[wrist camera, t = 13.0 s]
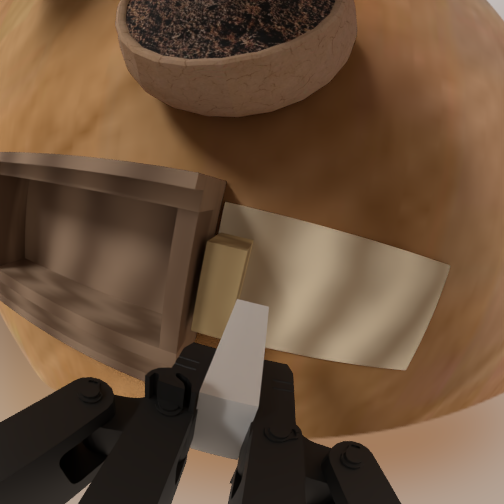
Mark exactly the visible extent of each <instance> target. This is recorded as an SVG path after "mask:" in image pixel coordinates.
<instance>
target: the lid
mask: <svg viewBox="0 0 504 504" xmlns="http://www.w3.org/2000/svg"><path fill="white" fill-rule="evenodd" d="M449 269H450V265H448V264H445V263H442V262H439V261H436V260H433V259H430V258H427V257H424V256H421V255H418V254H415V253H412V252H409V251H406V250H402V249H399V248H396V247H393V246H390V245H386V244H383V243H380V242H377V241H373V240H370V239H367V238H363V237H360V236H356V235H353V234H349V233H346V232H342V231H339V230H335V229H332V228H328V227H325V226H321V225H317V224H314V223H310V222H306V221H302V220H298V219H295V218H291V217H287V216H283V215H279V214H275V213H271V212H267V211H263V210H259V209H255V208H251V207H246V206H242V205H238V204H234V203H229V202H225V205H224V210H223V214H222V218H221V223H220V228H219V232H218V235H216V236H215V237H213V238H211V239H210V240H208V241H207V244H206V249H205V254H204V259H203V265H202V270H201V275H200V280H199V286H198V291H197V297H196V303H195V309H194V315H193V321H192V327H191V331H195V332H198V333H201V334H205V335H208V336H212V337H215V338H219V339H221V338H222V335H223V333H224V330H225V328H226V325H227V323H228V320H229V318H230V315H231V313H232V310H233V308H234V306H235V303H236V301H237V299H240V300H244V301H248V302H252V303H256V304H260V305H264V306H268V307H269V312H268V323H267V333H266V343H265V347H266V348H270V349H274V350H279V351H284V352H288V353H293V354H298V355H303V356H308V357H313V358H319V359H324V360H330V361H336V362H342V363H349V364H356V365H363V366H370V367H378V368H387V369H397V370H406V369H407V367H408V365H409V363H410V361H411V360H412V358H413V356H414V354H415V352H416V350H417V348H418V346H419V344H420V342H421V340H422V337H423V335H424V333H425V331H426V329H427V327H428V324H429V322H430V320H431V317H432V315H433V313H434V310H435V308H436V305H437V303H438V300H439V298H440V295H441V292H442V289H443V287H444V284H445V281H446V278H447V275H448V272H449Z"/></svg>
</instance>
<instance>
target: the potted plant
mask: <svg viewBox="0 0 504 504" xmlns="http://www.w3.org/2000/svg"><path fill="white" fill-rule="evenodd" d="M115 25H116V29H117V33H118V39H119V45H120V48H121V51H122V54H123V57H124V60H125V64H126V66H127V69H128V71H129V72H130V74H131V75H132V76H133V77H134V78H135V80H136V81H137V82H138V83H139V84H140V85H141V87H142V88H143V89H144V90H145V91H146V92H147V93H149V94H150V95H152V96H153V97H155V98H157V99H159V100H161V101H162V102H164V103H166V104H168V105H170V106H171V107H173V108H177V109H181V110H185V111H189V112H193V113H197V114H201V115H204V116H225V117H242V116H248V115H254V114H260V113H266V112H272V111H275V110H277V109H280V108H283V107H285V106H288V105H291V104H293V103H296V102H299V101H302V100H303V99H305V98H306V97H308V96H309V95H311V94H312V93H314V92H315V91H317V90H318V89H320V88H322V87H323V86H325V85H326V84H328V83H329V82H330V81H331V80H332V79H333V77H334V76H335V75H336V74H337V73H338V71H339V70H340V69H341V68H342V67H343V66H344V64H345V63H346V62H347V60H348V58H349V56H350V53H351V50H352V48H353V45H354V42H355V39H356V36H357V20H356V9H355V4H354V0H120V2H119V4H118V7H117V13H116V22H115Z"/></svg>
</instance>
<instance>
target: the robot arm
mask: <svg viewBox="0 0 504 504" xmlns="http://www.w3.org/2000/svg"><path fill="white" fill-rule="evenodd" d="M268 312H269V307H268V306H264V305H260V304H256V303H252V302H248V301H244V300H240V299H237V301H236V303H235V306H234V308H233V310H232V313H231V315H230V318H229V320H228V323H227V325H226V328H225V330H224V333H223V335H222V338H221V340H220V342H219V345H218V347H217V349H216V348H212V347H208V346H205V345H201V344H198V343H195V342H193V343H191V344H190V345H188V346H186V347H184V349H183V350H182V352H181V353H180V355H179V357H178V358H177V360H176V361H175V364H174V365H173V366H172V368H169V367H166V368H157V369H154V370H151V371H150V372H148V373H147V374H146V375H145V397H143V398H129V397H123V396H118V395H114V394H113V391H112V388H111V387H110V386H109V385H108V384H107V383H105V382H103V381H102V380H100V379H96V378H92V377H87V378H80V379H77V380H75V381H73V382H71V383H69V384H68V385H66V386H64V387H62V388H61V389H59V390H57V391H55V392H54V393H52V394H51V395H48V396H47V397H45V398H43V399H42V400H40V401H38V402H36V403H34V404H33V405H31V406H29V407H27V408H26V409H24V410H22V411H20V412H18V413H16V414H15V415H13V416H11V417H9V418H7V419H5V420H4V421H2V422H0V504H65V503H66V502H68V501H69V500H70V499H71V498H73V497H74V496H75V495H76V494H77V493H79V492H80V491H81V490H82V489H83V488H85V487H86V486H87V485H88V484H89V483H91V484H90V485H89V487H88V489H87V490H86V492H85V493H84V495H83V497H82V498H81V500H80V502H79V503H78V504H171V503H172V500H173V497H174V495H175V492H176V489H177V486H178V483H179V481H180V478H181V475H182V472H183V469H184V467H185V464H186V460H187V453H188V451H189V448H192V449H196V450H199V451H203V452H206V453H210V454H214V455H218V456H222V457H227V458H231V459H238V457H239V460H238V466H237V468H236V470H235V472H234V475H233V477H232V479H231V481H230V483H231V484H232V486H231V491H230V496H229V501H228V504H401V503H400V501H399V499H398V498H397V496H396V494H395V492H394V491H393V489H392V487H391V485H390V483H389V482H388V480H387V478H386V477H385V475H384V473H383V471H382V470H381V468H380V466H379V464H378V463H377V461H376V459H375V458H374V456H373V454H372V453H371V452H370V451H369V449H368V448H366V447H365V446H363V445H362V444H360V443H356V442H353V441H343V442H340V443H337V444H336V445H335V446H334V447H332V448H329V447H326V446H323V445H320V444H317V443H314V442H312V441H310V440H308V439H307V438H305V437H304V436H303V435H302V432H301V429H300V428H299V427H298V426H297V425H296V422H295V400H294V385H293V383H294V381H293V373H292V371H291V370H290V368H289V366H288V365H287V364H282V363H277V362H273V361H268V360H264V353H265V343H266V333H267V323H268ZM190 445H191V446H190Z"/></svg>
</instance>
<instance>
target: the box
mask: <svg viewBox="0 0 504 504" xmlns="http://www.w3.org/2000/svg"><path fill="white" fill-rule="evenodd" d="M225 186H226V181H224V180H221V179H218V178H214V177H211V176H208V175H204V174H201V173H197V172H192V171H186V170H180V169H174V168H168V167H162V166H156V165H149V164H142V163H135V162H128V161H120V160H112V159H103V158H94V157H83V156H72V155H60V154H44V153H22V152H0V301H2V302H3V303H4V304H6V305H7V306H8V307H10V308H11V309H12V310H14V311H15V312H16V313H18V314H19V315H21V316H22V317H24V318H25V319H26V320H28V321H29V322H31V323H32V324H34V325H35V326H37V327H39V328H40V329H42V330H43V331H45V332H46V333H48V334H50V335H51V336H53V337H55V338H56V339H58V340H60V341H61V342H63V343H65V344H67V345H68V346H70V347H72V348H74V349H76V350H78V351H79V352H81V353H83V354H85V355H87V356H89V357H91V358H93V359H95V360H97V361H99V362H101V363H103V364H105V365H107V366H110V367H112V368H114V369H116V370H118V371H121V372H123V373H125V374H127V375H130V376H132V377H135V378H137V379H139V380H142V381H144V382H145V375H146V374H147V373H148V372H150V371H151V370H154V369H157V368H166V367H169V368H172V366H173V365H174V364H175V361H176V360H177V358H178V357H179V355H180V353H181V352H182V350H183V349H184V347H186V346H188V345H190V344H191V343H193V342H194V341H195V339H196V334H197V332H195V331H191V327H192V321H193V315H194V309H195V303H196V297H197V291H198V286H199V280H200V275H201V270H202V265H203V259H204V254H205V249H206V244H207V241H208V240H210V239H211V238H213V237H215V232H216V227H217V222H218V218H219V213H220V208H221V204H222V199H223V195H224V190H225Z"/></svg>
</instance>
